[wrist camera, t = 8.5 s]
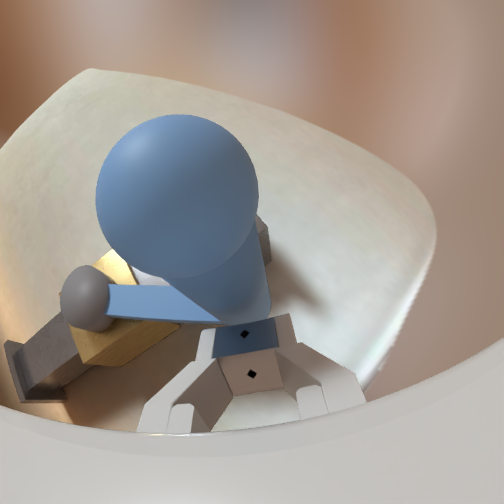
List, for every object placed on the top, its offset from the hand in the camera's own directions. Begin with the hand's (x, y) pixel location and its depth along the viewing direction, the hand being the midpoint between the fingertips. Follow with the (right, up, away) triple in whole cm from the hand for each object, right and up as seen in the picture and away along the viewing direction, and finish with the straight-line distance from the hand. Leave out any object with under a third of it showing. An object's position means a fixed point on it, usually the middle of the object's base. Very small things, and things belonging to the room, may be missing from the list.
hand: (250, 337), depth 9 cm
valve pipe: (-11, -3, +14) cm, 17 cm away
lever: (-6, -1, +8) cm, 10 cm away
